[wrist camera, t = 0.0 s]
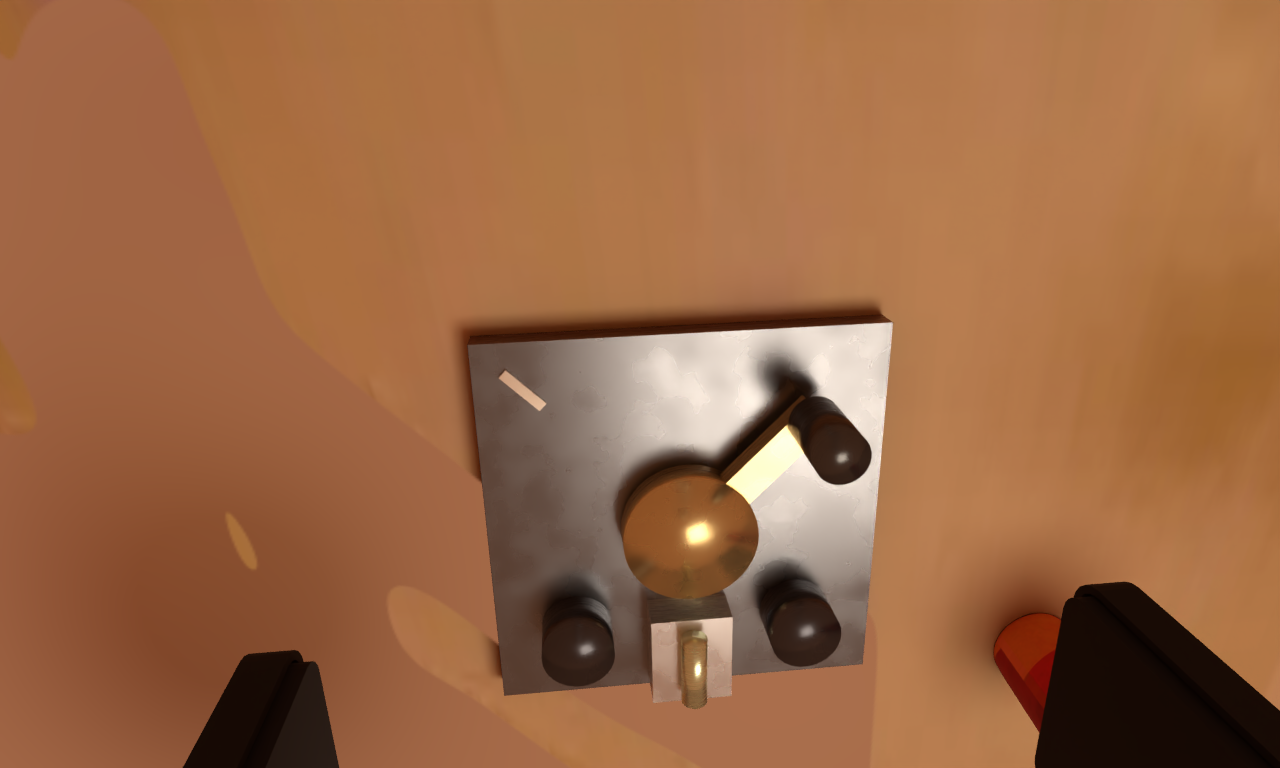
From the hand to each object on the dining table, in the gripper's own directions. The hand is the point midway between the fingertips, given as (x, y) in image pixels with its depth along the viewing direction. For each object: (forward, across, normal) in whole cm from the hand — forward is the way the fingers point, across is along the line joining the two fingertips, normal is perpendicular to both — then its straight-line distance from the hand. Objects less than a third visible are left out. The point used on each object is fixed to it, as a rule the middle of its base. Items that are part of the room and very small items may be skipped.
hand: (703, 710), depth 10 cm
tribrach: (+37, -5, +18) cm, 41 cm away
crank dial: (+35, -8, +15) cm, 39 cm away
